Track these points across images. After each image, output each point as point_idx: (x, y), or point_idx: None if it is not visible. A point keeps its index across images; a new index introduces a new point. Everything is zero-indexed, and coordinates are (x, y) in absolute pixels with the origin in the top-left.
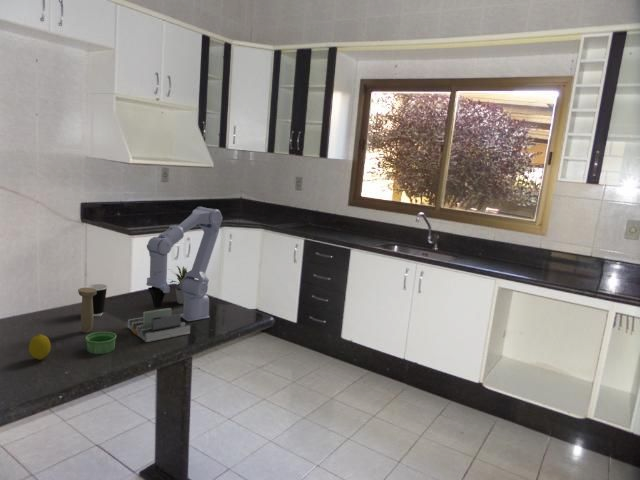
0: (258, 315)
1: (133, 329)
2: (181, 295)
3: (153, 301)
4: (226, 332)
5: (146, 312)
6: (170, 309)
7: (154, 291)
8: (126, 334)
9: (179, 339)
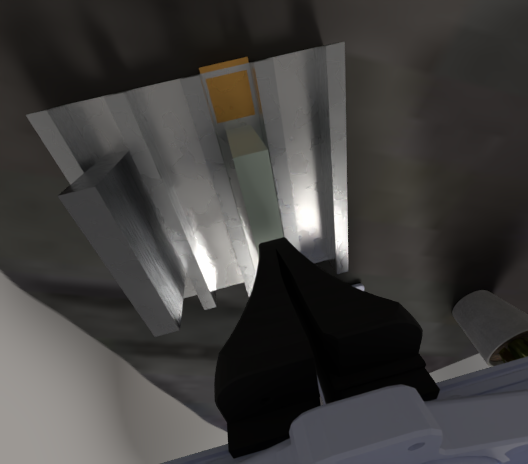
0: None
1: (239, 62)
2: (487, 323)
3: (282, 260)
4: (159, 378)
5: (249, 170)
6: None
7: (215, 379)
8: (211, 7)
9: None
